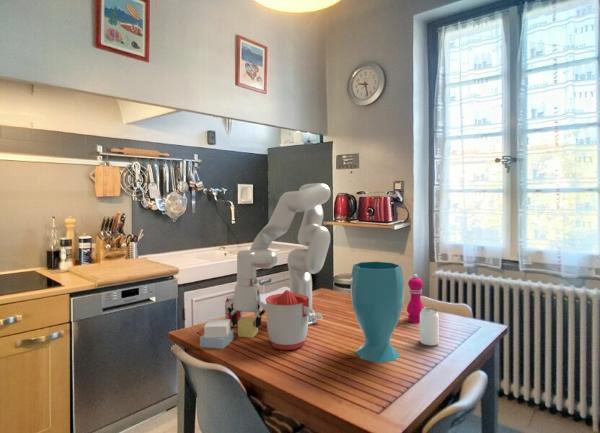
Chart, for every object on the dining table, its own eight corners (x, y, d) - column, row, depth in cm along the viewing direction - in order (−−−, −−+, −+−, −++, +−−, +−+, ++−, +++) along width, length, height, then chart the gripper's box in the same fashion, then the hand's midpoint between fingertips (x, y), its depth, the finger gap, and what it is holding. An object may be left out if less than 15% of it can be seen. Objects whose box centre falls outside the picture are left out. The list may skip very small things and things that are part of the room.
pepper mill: (406, 321, 155) (405, 275, 155) (407, 316, 162) (407, 272, 161) (423, 323, 153) (423, 276, 152) (424, 318, 159) (424, 273, 159)
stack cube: (258, 332, 146) (257, 317, 146) (252, 337, 140) (252, 322, 140) (244, 331, 147) (243, 316, 147) (238, 336, 141) (237, 321, 141)
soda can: (238, 328, 151) (238, 299, 150) (222, 327, 152) (222, 298, 152) (244, 322, 158) (244, 295, 157) (229, 321, 159) (228, 294, 158)
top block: (230, 329, 139) (230, 319, 139) (226, 337, 131) (226, 326, 131) (209, 329, 139) (209, 319, 139) (204, 337, 131) (204, 326, 131)
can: (429, 347, 128) (429, 313, 128) (415, 341, 134) (415, 309, 133) (442, 343, 131) (442, 310, 131) (428, 338, 137) (428, 306, 136)
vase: (394, 368, 112) (394, 271, 111) (343, 356, 121) (342, 267, 120) (409, 349, 127) (409, 263, 126) (363, 339, 136) (362, 259, 135)
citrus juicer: (305, 356, 122) (304, 297, 121) (258, 350, 128) (257, 293, 127) (319, 339, 137) (318, 286, 136) (276, 334, 143) (276, 284, 142)
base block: (233, 340, 138) (233, 330, 138) (222, 350, 130) (222, 338, 130) (211, 338, 141) (211, 328, 140) (200, 348, 132) (199, 337, 132)
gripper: (270, 281, 144) (270, 324, 145) (230, 279, 148) (230, 320, 149) (264, 285, 137) (264, 330, 137) (222, 282, 141) (221, 326, 142)
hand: (246, 325), depth 143 cm, fingers open, 9 cm apart
